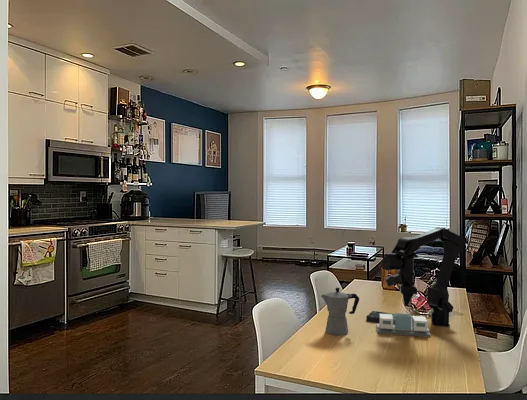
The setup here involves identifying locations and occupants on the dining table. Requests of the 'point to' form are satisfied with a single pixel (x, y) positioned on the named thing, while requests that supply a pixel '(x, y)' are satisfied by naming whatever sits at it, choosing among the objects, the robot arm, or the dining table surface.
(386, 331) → the din board
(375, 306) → the dining table surface
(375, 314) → the disk drive
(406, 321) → the block
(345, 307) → the coffeepot
